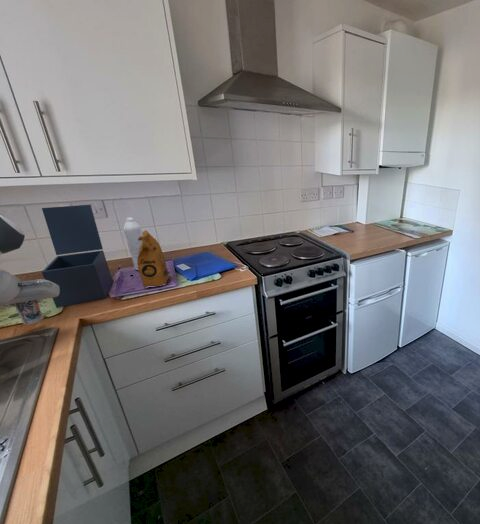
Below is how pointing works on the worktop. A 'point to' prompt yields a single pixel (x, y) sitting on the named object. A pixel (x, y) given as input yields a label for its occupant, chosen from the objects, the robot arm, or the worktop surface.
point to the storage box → (79, 277)
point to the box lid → (72, 229)
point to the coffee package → (151, 262)
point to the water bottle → (133, 238)
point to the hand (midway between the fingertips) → (26, 302)
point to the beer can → (29, 312)
